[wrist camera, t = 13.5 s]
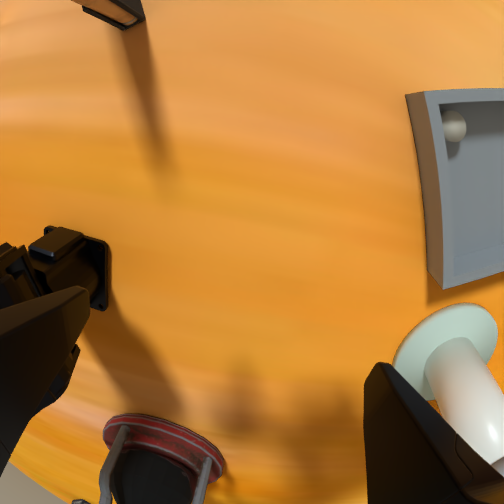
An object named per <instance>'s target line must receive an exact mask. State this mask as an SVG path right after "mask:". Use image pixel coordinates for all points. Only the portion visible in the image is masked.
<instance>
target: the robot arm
mask: <svg viewBox="0 0 504 504" xmlns="http://www.w3.org/2000/svg"><path fill="white" fill-rule="evenodd" d="M100 246H102V248H103V249H101V248H100ZM28 250H29V251H27V250H26V247H25V245H22V246H20V247H18V248H16V246H15V247H14V246H13V247H12V246H11V245H10V244H8V243H7V242H6V243H4V244H2V245H0V477H1V474H2V472H3V470H4V468H5V466H6V464H7V462H8V460H9V458H10V456H11V454H12V452H13V450H14V448H15V446H16V444H17V442H18V441H19V439H20V437H21V435H22V433H23V431H24V430H25V428H26V426H27V424H28V422H29V421H30V419H31V418H32V417H33V416H34V415H36V414H37V413H38V412H40V411H41V410H42V409H43V408H45V407H47V406H49V405H50V404H52V403H54V402H55V401H56V400H57V399H58V398H59V397H60V396H61V395H62V394H63V393H64V392H65V390H66V389H67V387H68V384H69V381H70V379H71V376H72V373H73V370H74V367H75V364H76V362H77V359H78V356H79V353H80V351H81V350H80V349H79V347H78V345H77V344H75V343H76V341H77V339H78V337H79V335H80V333H81V331H82V329H83V328H84V326H85V324H86V322H87V320H88V318H89V315H90V307H91V308H94V309H97V310H100V311H105V310H106V309H107V308H108V282H107V262H108V246H107V244H106V242H105V241H103V240H99V239H96V238H92V237H89V236H85V235H84V234H83V233H81V232H77V231H74V230H70V229H67V228H63V227H58V228H57V227H54V226H47V227H45V228H44V236H43V237H41V238H40V239H38V240H36V241H35V242H33V243H31V244H30V245H29V246H28ZM101 304H102V305H103V306H102V305H101ZM363 429H364V442H365V456H366V472H367V495H368V504H504V477H503V476H502V475H501V474H500V473H499V472H498V471H497V470H496V469H494V468H493V467H492V466H491V465H490V464H489V463H488V462H487V461H485V460H484V459H483V458H482V457H481V456H480V455H479V454H478V453H477V452H476V451H475V450H473V449H472V448H471V447H470V446H469V445H468V443H467V442H466V441H465V440H464V439H463V438H462V437H461V436H460V435H459V434H458V433H456V431H455V430H454V429H453V428H452V427H451V426H450V425H449V424H448V423H447V422H446V421H445V420H444V419H443V418H442V416H441V415H440V414H439V413H438V412H437V411H436V410H435V409H434V408H433V407H432V406H431V405H430V404H429V403H428V402H427V401H426V400H425V399H424V398H423V397H422V396H421V395H420V394H419V393H418V392H417V391H416V390H415V389H414V388H413V387H412V386H411V385H410V384H409V383H408V382H407V381H406V380H405V379H404V377H403V376H402V375H401V374H400V373H399V372H398V371H397V370H396V369H395V368H394V367H393V366H392V365H391V364H389V363H384V362H378V363H376V364H375V366H374V367H373V369H372V370H371V372H370V374H369V375H368V377H367V379H366V380H365V383H364V418H363Z"/></svg>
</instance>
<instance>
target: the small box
mask: <svg viewBox="0 0 504 504" xmlns="http://www.w3.org/2000/svg"><path fill="white" fill-rule="evenodd" d="M72 504H90V503H88V502H87V501H85V500H83V499H79V500H73V501H72Z"/></svg>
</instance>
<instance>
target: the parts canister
mask: <svg viewBox="0 0 504 504" xmlns="http://www.w3.org/2000/svg"><path fill="white" fill-rule="evenodd" d="M424 372H425V375H426V378H427V380H428V382H429V385H430V387H431V389H432V392H433V394H434V397H435V399H436V402H437V404H438V407H439V409H440V412H441V415H442V417H443V419H444V420H445V421H446V422H447V423H448V424H449V425H450V426H451V427H452V428H453V429H454V430H455V431H456V433H458V434H459V435H460V436H461V437H462V438H463V439H464V440H465V441H466V442H467V443H468V445H469V446H470V447H471V448H472V449H473V450H475V451H476V452H477V453H478V454H479V455H480V456H481V457H482V458H483V459H484V460H485V461H487V462H488V463H489V464H490V465H491V466H492V467H493V468H494V469H496V470H497V471H498V472H499V473H500V474H501V475H502V476H503V477H504V395H503V393H502V391H501V389H500V388H499V386H498V384H497V382H496V381H495V379H494V377H493V376H492V374H491V372H490V371H489V369H488V367H487V366H486V364H485V362H484V361H483V359H482V358H481V356H480V354H479V353H478V351H477V350H476V348H475V347H474V345H473V344H472V342H471V341H470V340H469V339H468V338H465V337H456V338H453V339H450V340H448V341H446V342H444V343H442V344H441V345H439V346H438V347H437V348H436V349H435V350H434V351H433V352H432V353H431V354H430V356H429V357H428V359H427V360H426V363H425V366H424Z"/></svg>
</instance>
